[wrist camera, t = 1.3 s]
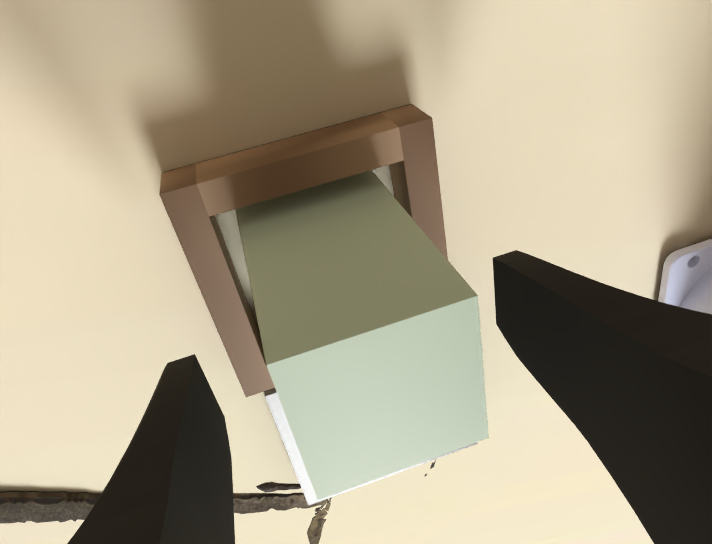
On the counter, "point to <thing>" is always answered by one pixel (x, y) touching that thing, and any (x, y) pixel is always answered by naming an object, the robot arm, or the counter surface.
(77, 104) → the counter surface
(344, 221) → the peg
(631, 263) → the counter surface
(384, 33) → the counter surface
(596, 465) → the counter surface
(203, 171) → the socket block
